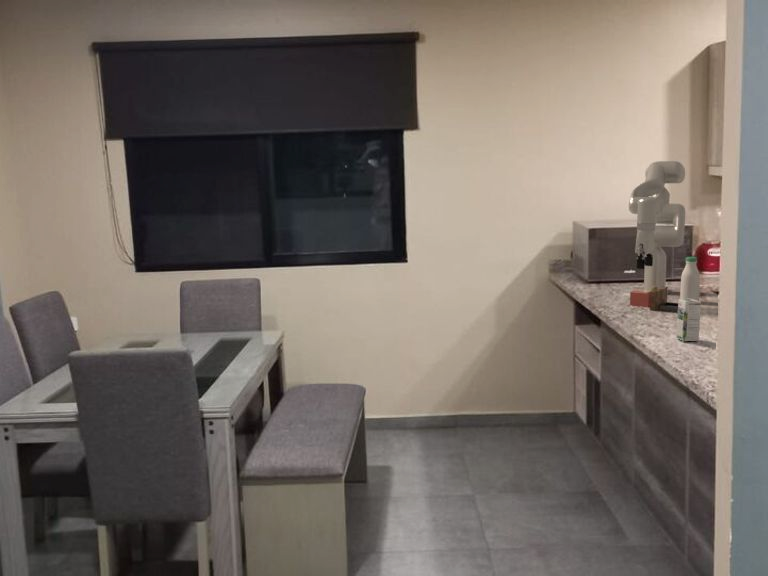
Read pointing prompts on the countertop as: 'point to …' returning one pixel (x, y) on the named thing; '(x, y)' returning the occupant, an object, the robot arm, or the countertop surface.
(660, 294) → the door board
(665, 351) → the countertop surface
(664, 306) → the tray
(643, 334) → the countertop surface
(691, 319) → the syrup box
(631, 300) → the red block
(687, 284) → the milk bottle
